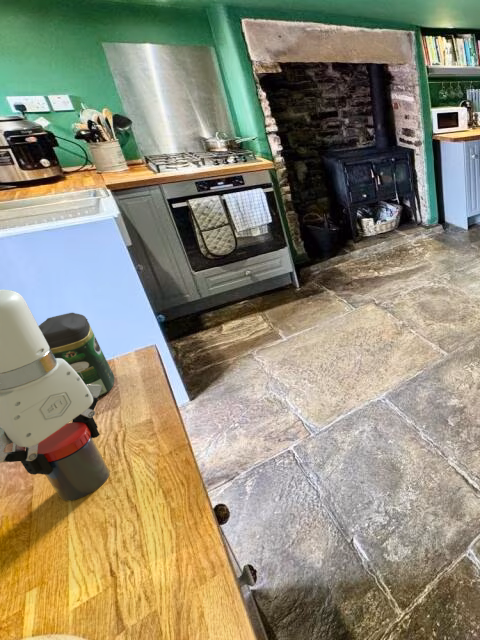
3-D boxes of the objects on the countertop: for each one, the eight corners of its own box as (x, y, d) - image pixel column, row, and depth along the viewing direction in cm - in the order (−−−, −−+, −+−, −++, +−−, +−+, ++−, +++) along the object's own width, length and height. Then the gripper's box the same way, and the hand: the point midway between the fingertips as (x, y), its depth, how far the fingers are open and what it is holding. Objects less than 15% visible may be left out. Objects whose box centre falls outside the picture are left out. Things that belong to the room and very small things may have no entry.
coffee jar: (69, 386, 92) (33, 317, 85) (115, 371, 97) (85, 305, 90) (65, 410, 86) (25, 338, 78) (115, 393, 91) (82, 324, 83)
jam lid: (59, 465, 64) (53, 456, 63) (21, 460, 64) (15, 452, 64) (102, 431, 70) (98, 423, 69) (67, 427, 71) (62, 420, 70)
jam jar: (50, 506, 67) (21, 461, 63) (69, 474, 72) (44, 431, 68) (100, 492, 70) (76, 448, 65) (115, 462, 75) (93, 420, 71)
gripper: (-36, 414, 53) (26, 505, 60) (100, 337, 68) (136, 416, 76) (-87, 409, 53) (-19, 499, 60) (60, 334, 69) (100, 412, 76)
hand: (67, 452), depth 68 cm, fingers closed on jam lid, 6 cm apart
